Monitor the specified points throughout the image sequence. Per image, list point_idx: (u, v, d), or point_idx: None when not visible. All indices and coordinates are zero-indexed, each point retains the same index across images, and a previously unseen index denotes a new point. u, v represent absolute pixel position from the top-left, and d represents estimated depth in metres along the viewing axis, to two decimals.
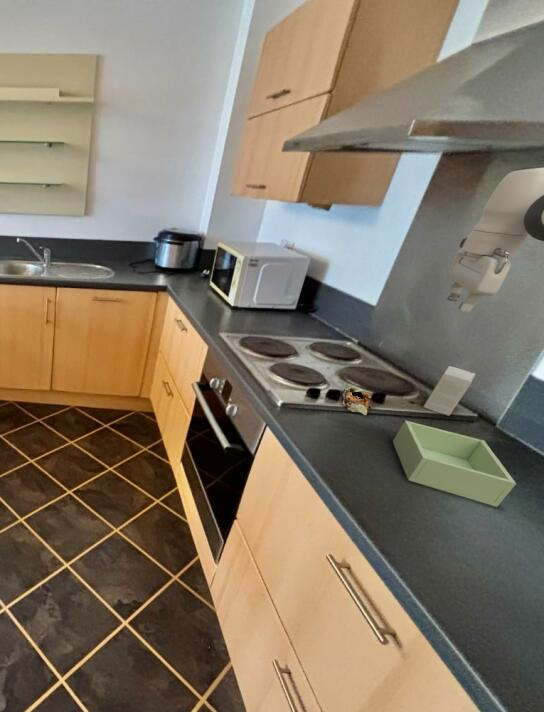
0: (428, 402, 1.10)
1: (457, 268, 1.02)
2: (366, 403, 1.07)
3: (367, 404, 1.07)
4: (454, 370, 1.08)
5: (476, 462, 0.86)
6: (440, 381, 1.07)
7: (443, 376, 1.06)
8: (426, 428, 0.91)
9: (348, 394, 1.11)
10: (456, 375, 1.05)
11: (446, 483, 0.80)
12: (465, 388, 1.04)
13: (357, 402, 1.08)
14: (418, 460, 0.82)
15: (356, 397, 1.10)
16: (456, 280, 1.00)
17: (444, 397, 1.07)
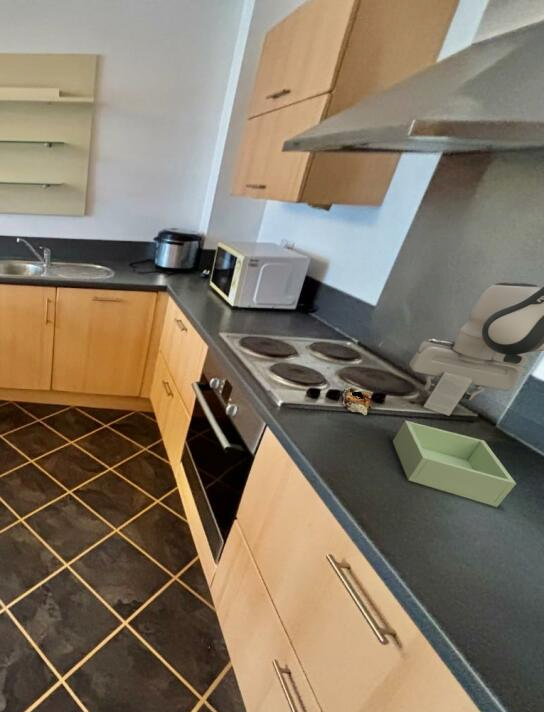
0: (428, 402, 1.10)
1: None
2: (366, 403, 1.07)
3: (367, 404, 1.07)
4: None
5: (476, 462, 0.86)
6: (440, 381, 1.07)
7: (443, 376, 1.06)
8: (426, 428, 0.91)
9: (348, 394, 1.11)
10: (456, 375, 1.05)
11: (446, 483, 0.80)
12: (465, 388, 1.04)
13: (357, 402, 1.08)
14: (418, 460, 0.82)
15: (356, 397, 1.10)
16: None
17: (444, 397, 1.07)
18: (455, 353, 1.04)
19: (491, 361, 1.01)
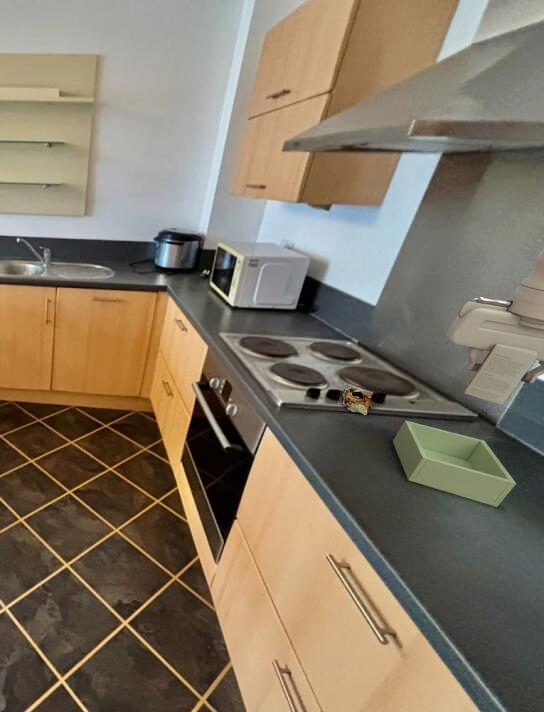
0: (472, 386, 0.80)
1: None
2: (366, 403, 1.07)
3: (367, 404, 1.07)
4: None
5: (476, 462, 0.86)
6: (490, 356, 0.77)
7: (495, 349, 0.76)
8: (426, 428, 0.91)
9: (348, 394, 1.11)
10: (514, 347, 0.75)
11: (446, 483, 0.80)
12: (527, 365, 0.74)
13: (357, 402, 1.08)
14: (418, 460, 0.82)
15: (356, 397, 1.10)
16: None
17: (495, 379, 0.77)
18: (513, 316, 0.74)
19: None
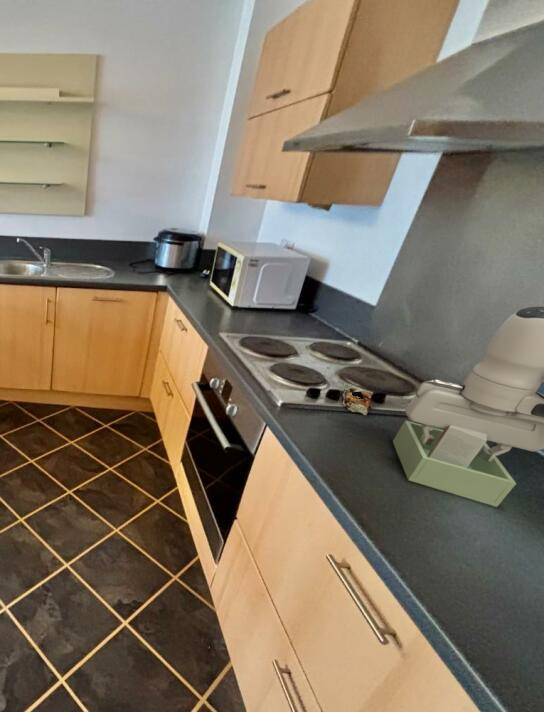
0: None
1: None
2: (366, 403, 1.07)
3: (367, 404, 1.07)
4: None
5: (476, 462, 0.86)
6: (444, 436, 0.82)
7: (448, 430, 0.81)
8: None
9: (348, 394, 1.11)
10: (465, 430, 0.80)
11: (446, 483, 0.80)
12: (478, 448, 0.78)
13: (357, 402, 1.07)
14: (418, 460, 0.82)
15: (356, 397, 1.10)
16: None
17: (449, 458, 0.82)
18: (465, 400, 0.79)
19: (514, 413, 0.76)
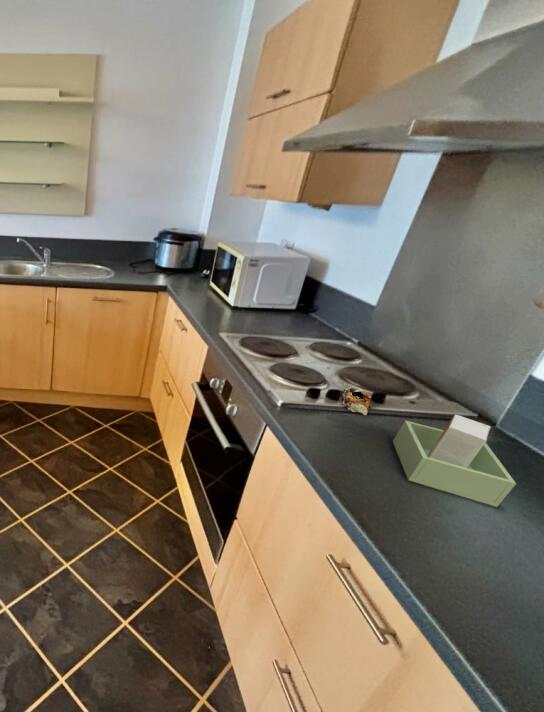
0: None
1: None
2: (366, 403, 1.07)
3: (367, 404, 1.07)
4: (462, 421, 0.83)
5: (476, 462, 0.86)
6: (444, 436, 0.82)
7: (448, 430, 0.81)
8: (426, 428, 0.91)
9: (348, 394, 1.11)
10: (465, 430, 0.80)
11: (446, 483, 0.80)
12: (478, 448, 0.78)
13: (357, 402, 1.07)
14: (418, 460, 0.82)
15: (356, 397, 1.10)
16: None
17: (449, 458, 0.82)
18: None
19: None
